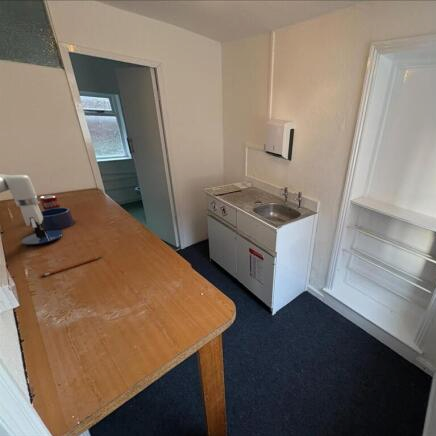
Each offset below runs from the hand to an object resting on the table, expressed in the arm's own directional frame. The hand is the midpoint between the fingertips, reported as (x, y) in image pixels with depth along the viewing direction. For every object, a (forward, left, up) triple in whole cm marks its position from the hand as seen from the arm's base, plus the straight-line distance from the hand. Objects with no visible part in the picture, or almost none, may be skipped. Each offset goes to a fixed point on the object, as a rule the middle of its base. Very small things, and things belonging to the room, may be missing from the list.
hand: (42, 235), depth 117 cm
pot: (+4, +19, -3) cm, 20 cm away
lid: (0, 0, -2) cm, 2 cm away
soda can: (+1, +40, -3) cm, 40 cm away
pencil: (+12, -36, -3) cm, 39 cm away
